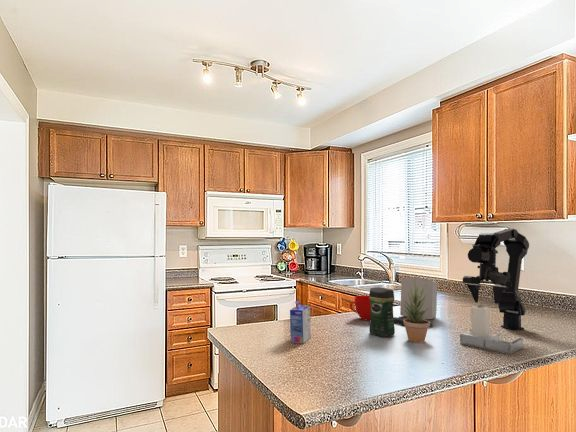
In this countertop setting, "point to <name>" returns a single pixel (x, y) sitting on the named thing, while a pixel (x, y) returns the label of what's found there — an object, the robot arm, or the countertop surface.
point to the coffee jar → (381, 312)
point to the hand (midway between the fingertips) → (486, 303)
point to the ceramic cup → (362, 307)
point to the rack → (491, 343)
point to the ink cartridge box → (300, 323)
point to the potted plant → (416, 317)
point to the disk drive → (400, 319)
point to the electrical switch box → (429, 299)
